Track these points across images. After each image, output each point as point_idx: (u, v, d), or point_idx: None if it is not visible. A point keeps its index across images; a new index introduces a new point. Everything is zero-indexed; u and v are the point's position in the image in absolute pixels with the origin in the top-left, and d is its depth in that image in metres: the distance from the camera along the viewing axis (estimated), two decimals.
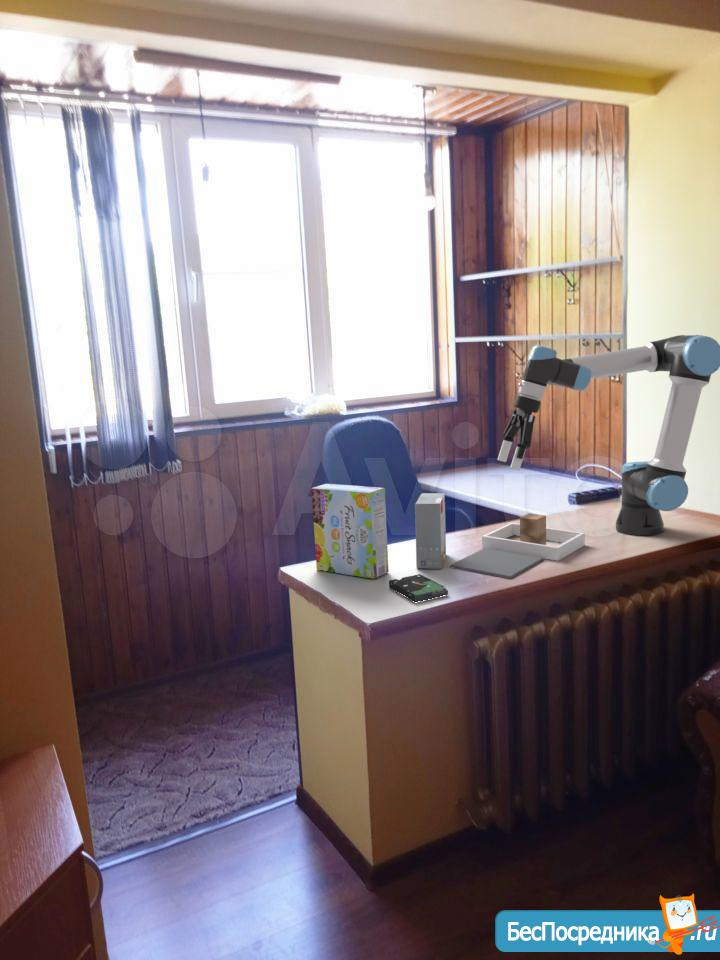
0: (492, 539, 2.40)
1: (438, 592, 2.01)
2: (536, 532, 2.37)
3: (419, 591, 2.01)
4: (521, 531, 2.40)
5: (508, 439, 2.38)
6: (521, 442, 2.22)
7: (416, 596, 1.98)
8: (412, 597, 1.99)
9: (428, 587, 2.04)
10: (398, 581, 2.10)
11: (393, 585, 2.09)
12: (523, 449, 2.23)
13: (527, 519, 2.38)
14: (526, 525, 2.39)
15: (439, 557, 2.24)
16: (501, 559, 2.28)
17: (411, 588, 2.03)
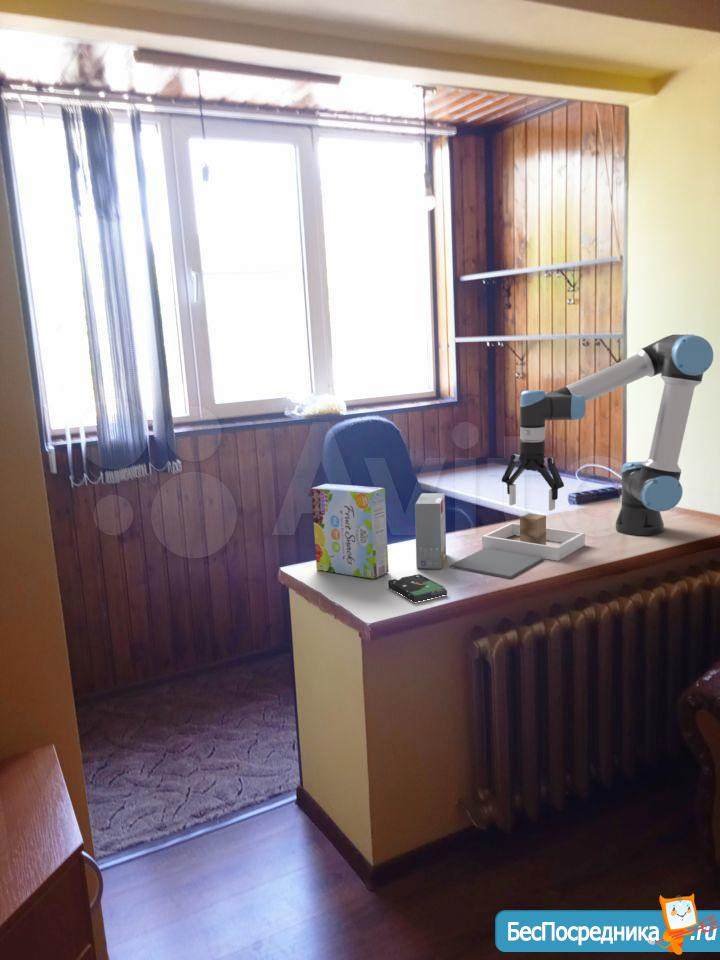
0: (492, 539, 2.40)
1: (437, 592, 2.01)
2: (536, 532, 2.37)
3: (418, 591, 2.01)
4: (521, 531, 2.40)
5: (511, 482, 2.43)
6: (556, 485, 2.31)
7: (415, 596, 1.98)
8: (411, 597, 1.99)
9: (427, 587, 2.04)
10: (397, 581, 2.10)
11: (392, 585, 2.09)
12: (557, 490, 2.33)
13: (527, 519, 2.38)
14: (526, 525, 2.39)
15: (439, 557, 2.24)
16: (501, 559, 2.28)
17: (411, 589, 2.03)
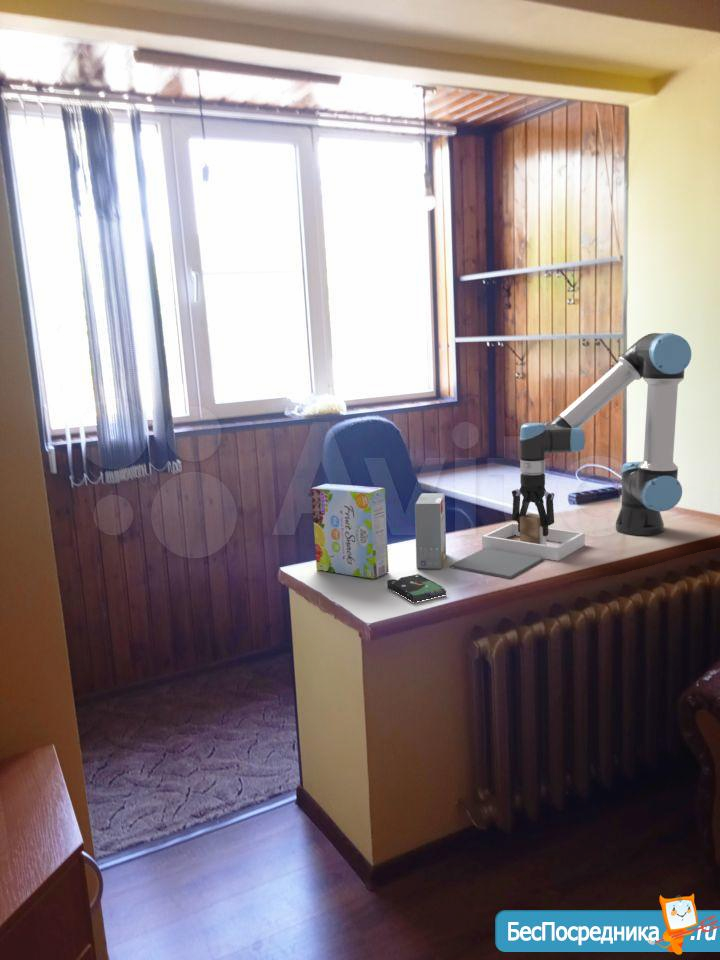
0: (492, 539, 2.40)
1: (436, 592, 2.01)
2: (536, 532, 2.37)
3: (417, 591, 2.01)
4: (521, 531, 2.40)
5: None
6: (547, 521, 2.36)
7: (414, 596, 1.98)
8: (411, 598, 1.99)
9: (426, 587, 2.04)
10: (396, 581, 2.10)
11: (391, 585, 2.09)
12: (547, 526, 2.38)
13: (527, 519, 2.38)
14: (526, 525, 2.39)
15: (439, 557, 2.24)
16: (501, 559, 2.28)
17: (410, 589, 2.03)
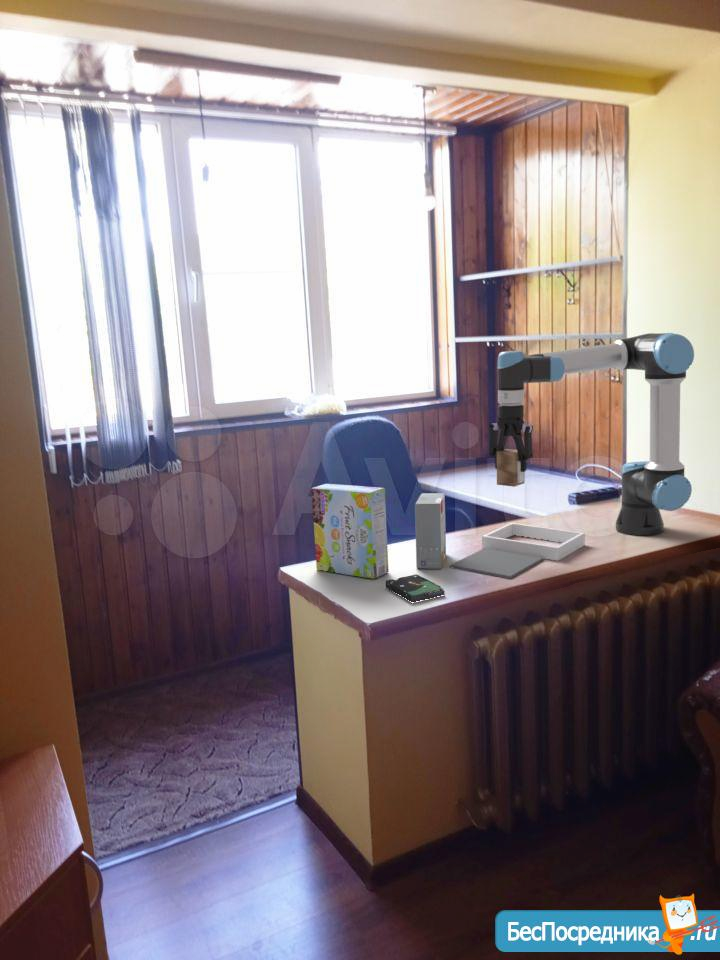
0: (492, 539, 2.40)
1: (435, 592, 2.01)
2: (514, 467, 2.24)
3: (415, 591, 2.01)
4: (498, 466, 2.27)
5: None
6: (525, 455, 2.23)
7: (413, 596, 1.98)
8: (409, 597, 1.99)
9: (424, 587, 2.04)
10: (395, 581, 2.10)
11: (390, 586, 2.09)
12: (525, 461, 2.25)
13: (504, 453, 2.25)
14: (503, 459, 2.26)
15: (439, 557, 2.24)
16: (501, 559, 2.28)
17: (408, 589, 2.03)
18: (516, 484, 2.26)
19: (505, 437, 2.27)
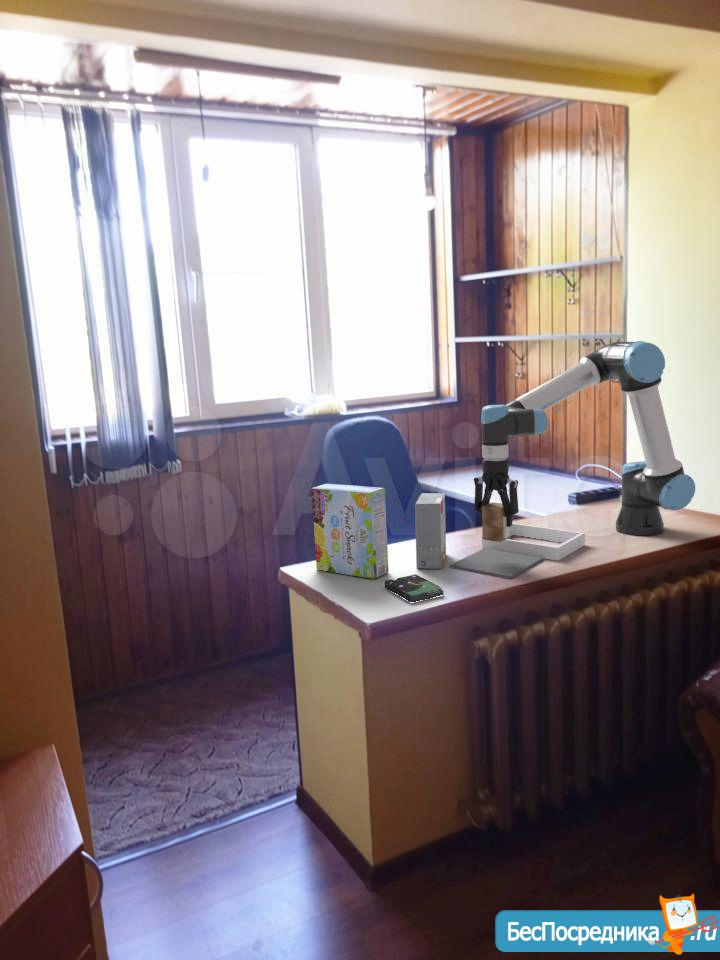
0: None
1: (434, 592, 2.01)
2: (499, 522, 2.20)
3: (414, 591, 2.01)
4: (483, 521, 2.24)
5: None
6: (510, 510, 2.19)
7: (411, 596, 1.98)
8: (408, 598, 1.99)
9: (423, 587, 2.04)
10: (394, 581, 2.10)
11: (389, 586, 2.09)
12: (511, 516, 2.21)
13: (489, 508, 2.22)
14: (488, 514, 2.22)
15: (439, 557, 2.24)
16: (501, 559, 2.28)
17: (407, 589, 2.03)
18: (502, 539, 2.22)
19: (490, 491, 2.24)
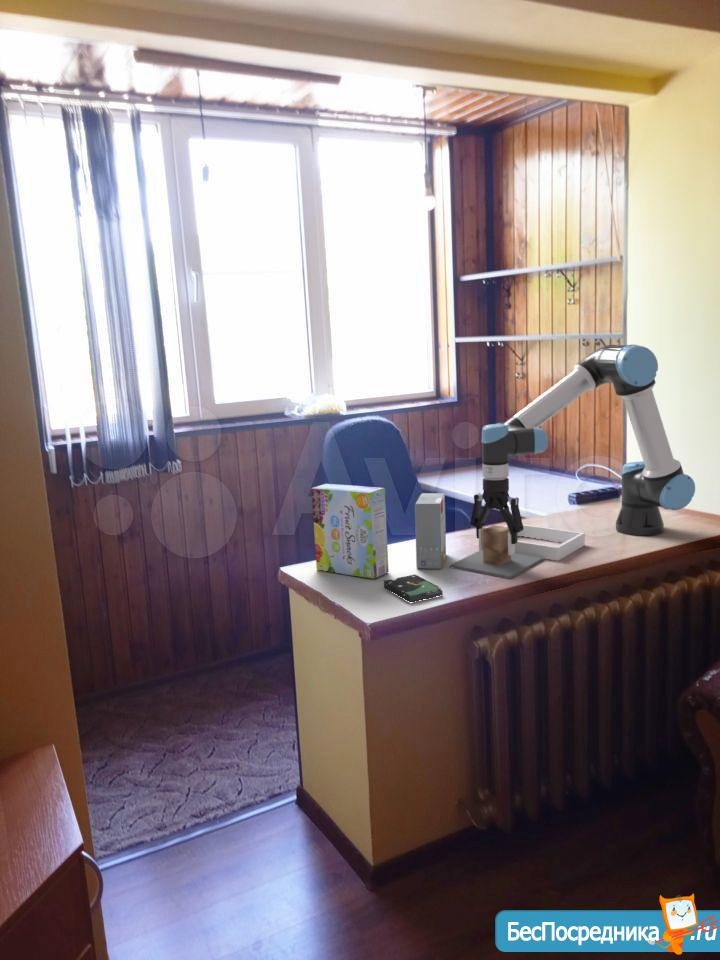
0: None
1: (433, 592, 2.01)
2: (500, 546, 2.22)
3: (414, 591, 2.01)
4: (484, 544, 2.25)
5: (481, 526, 2.28)
6: (515, 528, 2.19)
7: (411, 596, 1.98)
8: (407, 598, 1.99)
9: (422, 587, 2.04)
10: (393, 581, 2.10)
11: (388, 586, 2.09)
12: (516, 534, 2.21)
13: (490, 532, 2.23)
14: (489, 538, 2.23)
15: (439, 557, 2.24)
16: None
17: (406, 589, 2.03)
18: (503, 562, 2.23)
19: (489, 509, 2.25)
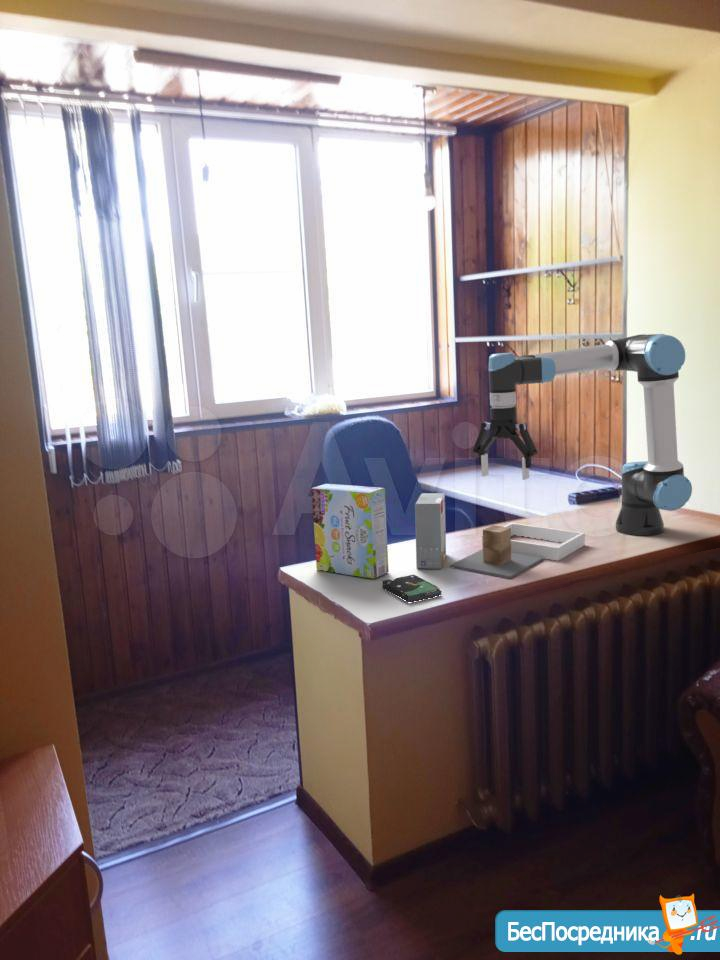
0: None
1: (431, 592, 2.01)
2: (500, 546, 2.22)
3: (412, 591, 2.01)
4: (484, 544, 2.25)
5: (483, 452, 2.31)
6: (529, 452, 2.20)
7: (409, 596, 1.98)
8: (406, 598, 1.99)
9: (421, 587, 2.04)
10: (392, 581, 2.10)
11: (386, 586, 2.09)
12: (530, 458, 2.21)
13: (490, 532, 2.23)
14: (489, 538, 2.23)
15: (439, 557, 2.24)
16: None
17: (405, 589, 2.03)
18: (503, 562, 2.23)
19: (494, 438, 2.27)
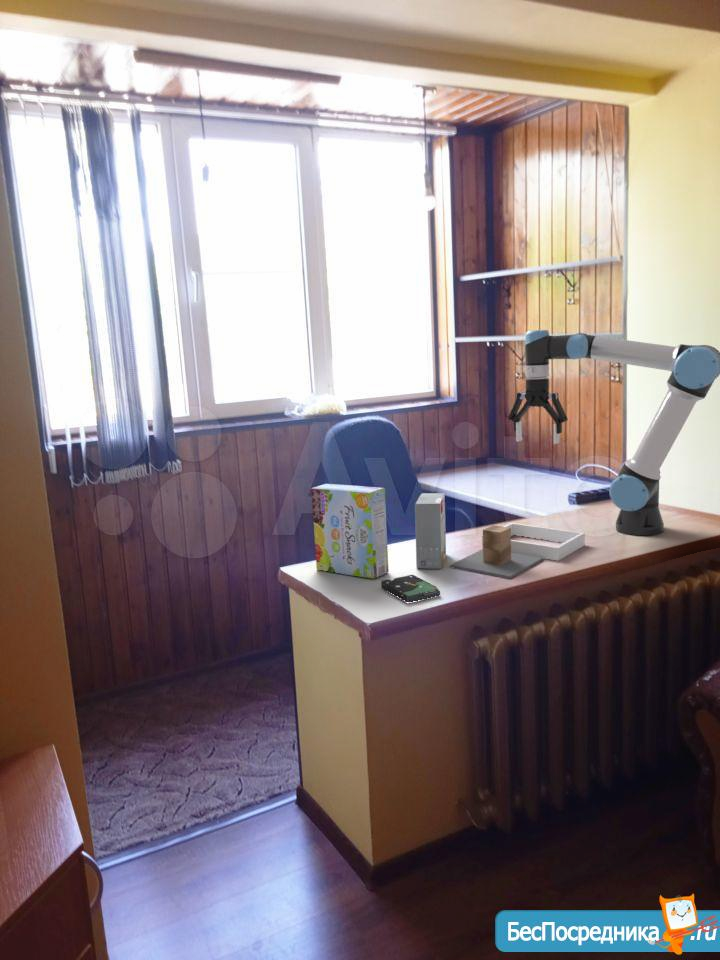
0: None
1: (430, 592, 2.01)
2: (500, 546, 2.22)
3: (411, 591, 2.01)
4: (484, 544, 2.25)
5: (518, 420, 2.56)
6: (560, 419, 2.45)
7: (408, 597, 1.98)
8: (405, 598, 1.99)
9: (420, 587, 2.04)
10: (390, 582, 2.10)
11: (385, 586, 2.08)
12: (561, 424, 2.47)
13: (490, 532, 2.23)
14: (489, 538, 2.23)
15: (439, 557, 2.24)
16: None
17: (404, 589, 2.03)
18: (503, 562, 2.23)
19: (528, 406, 2.53)
